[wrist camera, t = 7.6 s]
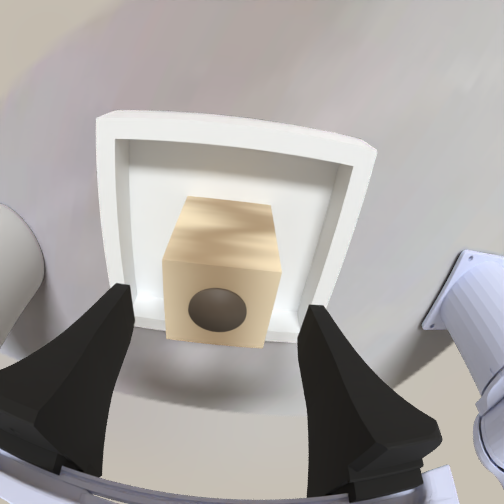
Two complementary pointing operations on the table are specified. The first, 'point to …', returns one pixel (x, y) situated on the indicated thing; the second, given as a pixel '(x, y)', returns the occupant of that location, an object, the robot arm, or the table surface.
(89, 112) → the table surface
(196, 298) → the bore block
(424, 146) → the table surface
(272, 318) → the tray
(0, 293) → the mug
